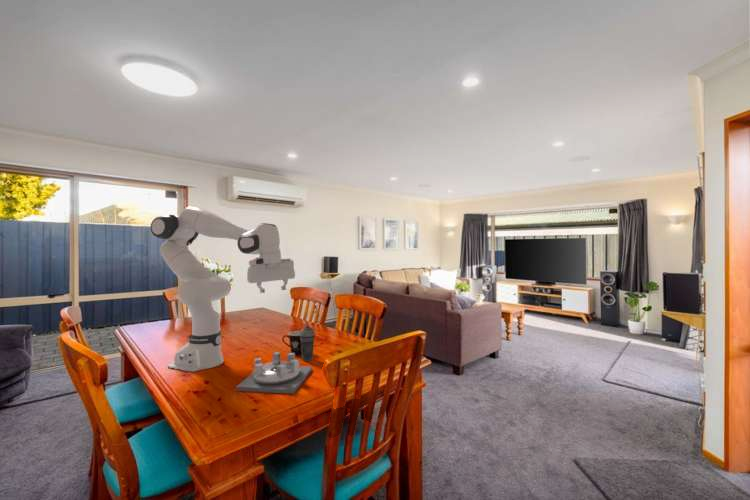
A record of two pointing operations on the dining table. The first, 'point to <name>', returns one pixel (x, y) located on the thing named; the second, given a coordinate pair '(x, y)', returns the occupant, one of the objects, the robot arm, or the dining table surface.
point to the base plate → (282, 388)
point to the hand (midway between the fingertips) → (273, 291)
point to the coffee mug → (294, 342)
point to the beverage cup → (307, 342)
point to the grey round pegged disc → (276, 370)
